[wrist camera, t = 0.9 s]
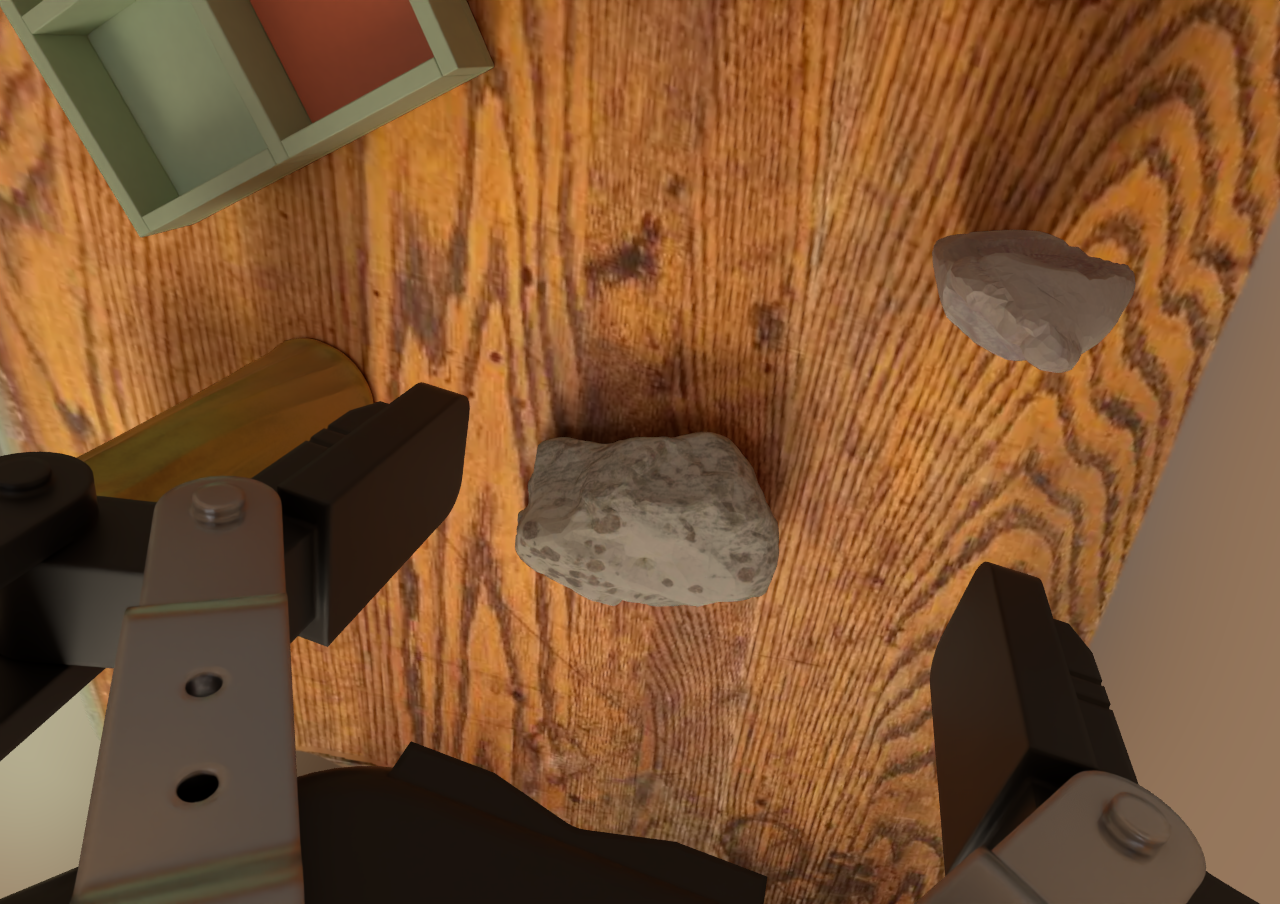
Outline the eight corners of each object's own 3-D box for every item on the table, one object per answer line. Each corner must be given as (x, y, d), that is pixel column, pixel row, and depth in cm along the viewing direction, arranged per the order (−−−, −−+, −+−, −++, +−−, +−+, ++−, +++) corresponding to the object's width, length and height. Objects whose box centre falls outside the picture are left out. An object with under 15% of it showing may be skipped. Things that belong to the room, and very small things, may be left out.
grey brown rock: (1105, 227, 28) (1208, 304, 20) (1068, 322, 30) (1147, 432, 21) (936, 197, 29) (962, 259, 21) (909, 291, 31) (922, 384, 22)
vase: (387, 454, 41) (174, 631, 28) (283, 447, 42) (37, 612, 30) (362, 338, 38) (115, 476, 26) (252, 335, 40) (-31, 463, 27)
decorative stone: (683, 342, 34) (656, 385, 30) (825, 534, 36) (818, 600, 32) (487, 474, 40) (439, 526, 35) (620, 634, 42) (591, 701, 38)
